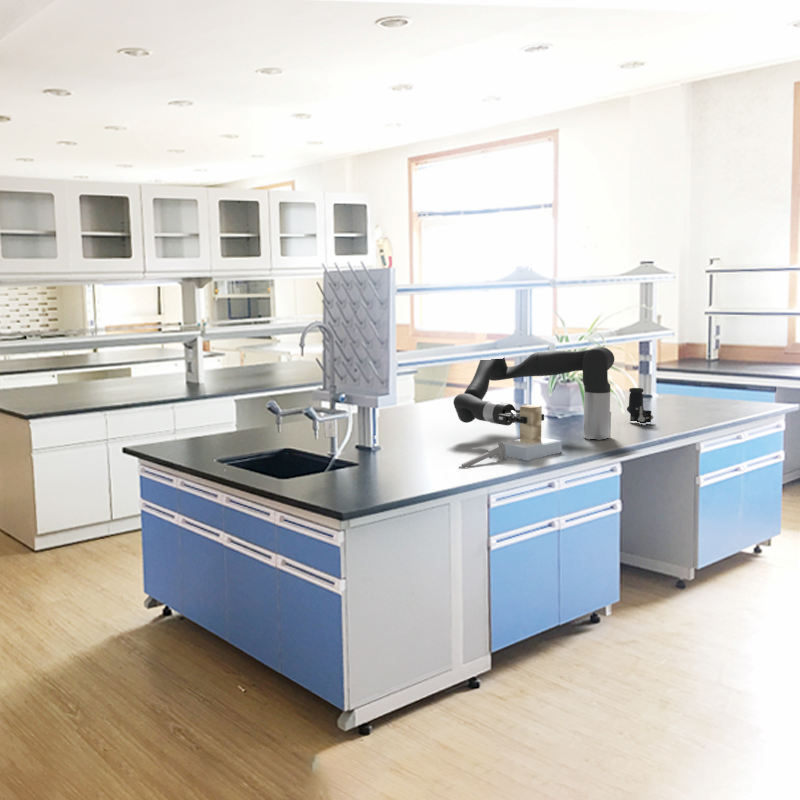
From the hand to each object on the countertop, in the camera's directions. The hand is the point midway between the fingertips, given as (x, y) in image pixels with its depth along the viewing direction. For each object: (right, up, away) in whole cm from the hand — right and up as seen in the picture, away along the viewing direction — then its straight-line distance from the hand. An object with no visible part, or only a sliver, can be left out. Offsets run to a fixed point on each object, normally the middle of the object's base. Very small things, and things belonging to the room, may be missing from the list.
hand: (535, 419), depth 281 cm
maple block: (-1, -8, +3) cm, 8 cm away
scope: (+50, -3, +58) cm, 77 cm away
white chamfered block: (-1, -12, +3) cm, 12 cm away
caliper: (-19, -14, -10) cm, 26 cm away
